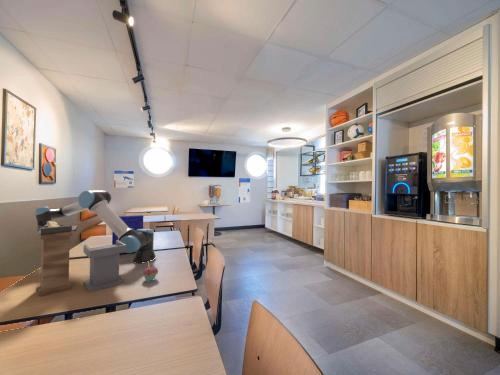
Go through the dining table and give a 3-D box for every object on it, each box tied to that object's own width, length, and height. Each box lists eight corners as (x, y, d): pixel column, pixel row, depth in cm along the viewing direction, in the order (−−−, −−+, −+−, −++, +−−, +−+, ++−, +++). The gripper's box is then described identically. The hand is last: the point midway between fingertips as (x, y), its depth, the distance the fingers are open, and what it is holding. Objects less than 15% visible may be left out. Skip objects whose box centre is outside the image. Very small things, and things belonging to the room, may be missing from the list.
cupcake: (151, 283, 121) (152, 262, 121) (138, 282, 123) (139, 261, 123) (160, 277, 130) (161, 257, 130) (148, 276, 132) (148, 256, 132)
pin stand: (37, 286, 114) (38, 230, 114) (66, 280, 123) (68, 228, 123) (39, 296, 105) (40, 235, 105) (70, 288, 114) (72, 232, 114)
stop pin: (37, 227, 122) (37, 222, 122) (64, 225, 131) (64, 220, 131) (40, 234, 106) (40, 228, 106) (71, 231, 115) (71, 226, 115)
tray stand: (82, 283, 120) (83, 245, 120) (116, 274, 132) (117, 240, 132) (88, 292, 110) (89, 250, 110) (125, 282, 122) (126, 244, 122)
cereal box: (141, 249, 186) (142, 214, 186) (142, 250, 181) (143, 215, 181) (111, 252, 174) (112, 215, 174) (111, 254, 169) (112, 216, 169)
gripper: (70, 236, 154) (83, 234, 144) (23, 229, 135) (35, 227, 124) (74, 226, 157) (87, 223, 147) (28, 218, 138) (40, 214, 127)
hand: (63, 225), depth 135 cm, fingers open, 13 cm apart
